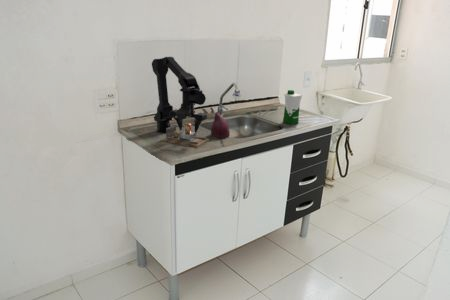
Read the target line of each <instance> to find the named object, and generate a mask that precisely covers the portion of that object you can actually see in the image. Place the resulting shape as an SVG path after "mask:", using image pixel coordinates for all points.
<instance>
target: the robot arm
mask: <svg viewBox="0 0 450 300" xmlns="http://www.w3.org/2000/svg"><path fill="white" fill-rule="evenodd" d="M151 68H152V72H153V73H154V75H155V76H156V83H157V91H158V100H159V102H158V105H157V107H156V114H155V115H154V116H153V119H154V122H156V127H157V128H156V130H155V132H156V133H161V134H166V128H169V127H171V123H170V121H172V120H173V119H174V121H176V123H177V126H178V129H179V131H183V120H186V119H187V118H193V119H194V120H193V122H194V132H195V133H196V134H197V132H198V129H199V127H200V125H201V124H202V122H203V121H205V120H207V119H208V114H206V113H204V112H198V113H196V110H195V105H199V106H202V105H204V104H205V102H206V99H207V98H206V95H205V94H204V93H203V90H201V88H200V85H199V83H198V81H197V78H196V77H195V76H194V75H193V74H191V72H187V71H186V70H185V69H183V67H182V66H181V65H180V64H179V63H178V62H177V61H176V60H175V57H174V56H164V57H162V58H154V59H153V60H152V62H151ZM169 70H170V71H171V73H173V75H175V76H176V78H177V82H178V84H179V85H180V87H181V88H180V89H179V92H182V93H181V95H182V98H181V99H182V101H181V103H180V108H178V109H177V108H175V109H174V107H173V105H171V104H170V102H169V94H168V85H167V84H168V83H167V75H168V72H169Z"/></svg>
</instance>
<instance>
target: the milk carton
mask: <svg viewBox="0 0 450 300" xmlns="http://www.w3.org/2000/svg"><path fill="white" fill-rule="evenodd" d="M302 96H303V95H302V94H299V93H295V90H293V89H289V90H288V89H287V93H285V94H284V111H283V119H282V123H284V124H287V125H288V124H289V125H291V126H292V125H295V124H298V123H299V121H300V120H299V117H300V106H301V105H300V104H301V101H302Z"/></svg>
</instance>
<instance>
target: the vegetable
mask: <svg viewBox="0 0 450 300" xmlns="http://www.w3.org/2000/svg"><path fill="white" fill-rule="evenodd" d="M210 129H211V130H210V134H211V135H210V136H211V137H212V138H215V139H227V138H230V135H231V134H230V127H229V124H228V122H227V121H226V119H225V118H224V117H223V116H221V114H220V113H219V112H217V111H216V112H215V115H214V119H213V122H212V125H211V128H210Z"/></svg>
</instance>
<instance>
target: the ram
mask: <svg viewBox="0 0 450 300" xmlns="http://www.w3.org/2000/svg"><path fill="white" fill-rule="evenodd" d="M184 125H185V126H184V127H185V128H184V130H181V131H179V132H180V133H179V139H182V140H188V141H192V140H194V139H196V136H197V132H196V133H195V131H192V123H191V122H186V123H185V124H184Z"/></svg>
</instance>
